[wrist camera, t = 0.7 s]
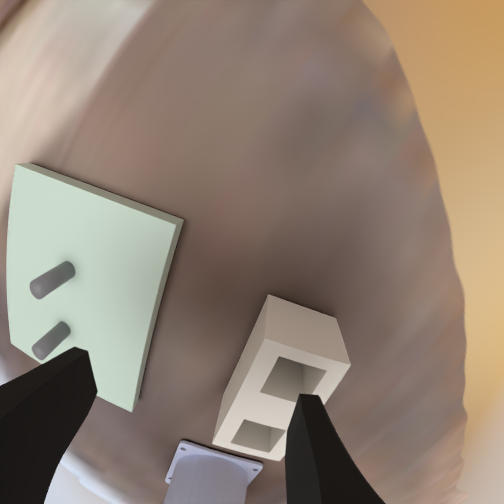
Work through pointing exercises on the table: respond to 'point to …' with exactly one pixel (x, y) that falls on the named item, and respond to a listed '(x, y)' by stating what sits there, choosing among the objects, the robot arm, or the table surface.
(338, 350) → the beige hollow block
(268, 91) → the table surface
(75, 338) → the pin plate
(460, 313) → the table surface
